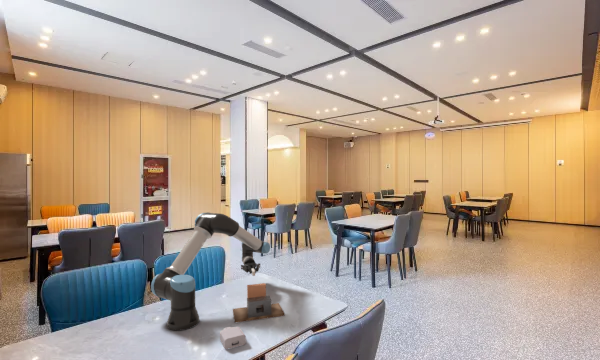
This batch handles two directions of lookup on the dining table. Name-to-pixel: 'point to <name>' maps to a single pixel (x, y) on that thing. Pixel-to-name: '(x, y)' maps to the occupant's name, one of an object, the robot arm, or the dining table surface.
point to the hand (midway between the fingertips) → (253, 273)
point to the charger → (232, 337)
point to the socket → (257, 312)
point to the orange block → (256, 291)
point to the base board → (242, 316)
